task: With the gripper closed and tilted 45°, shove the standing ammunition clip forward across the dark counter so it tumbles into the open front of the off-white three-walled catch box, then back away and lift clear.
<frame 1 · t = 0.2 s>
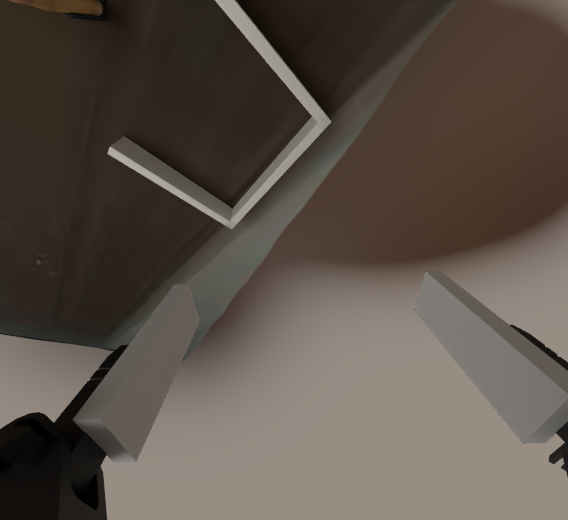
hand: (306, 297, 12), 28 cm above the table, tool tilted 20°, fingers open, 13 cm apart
catch box: (217, 125, 30), on the table
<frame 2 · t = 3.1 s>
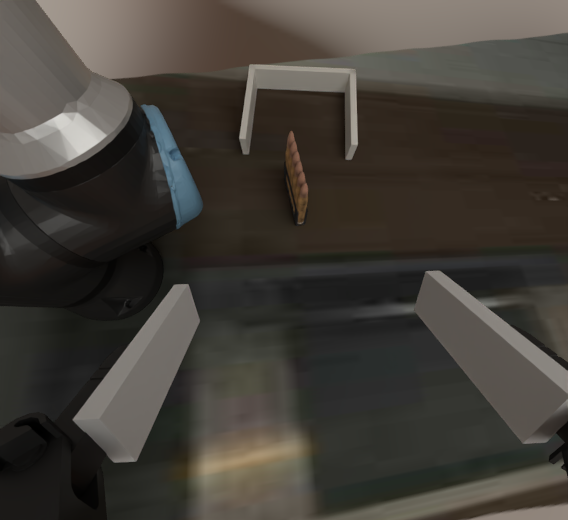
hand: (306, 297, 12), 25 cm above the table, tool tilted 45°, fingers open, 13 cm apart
catch box: (298, 122, 47), on the table
ammunition clip: (294, 200, 42), on the table
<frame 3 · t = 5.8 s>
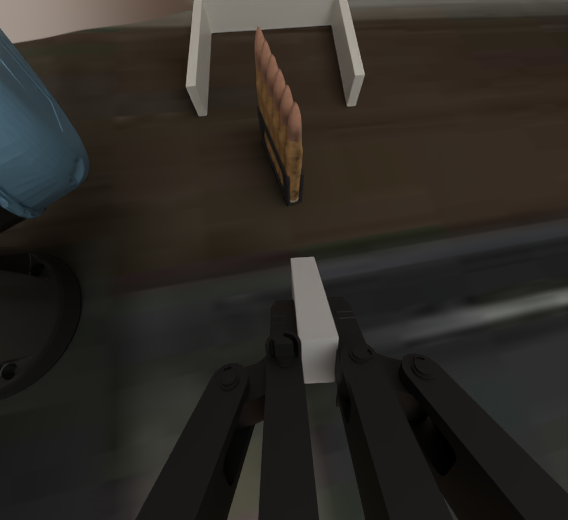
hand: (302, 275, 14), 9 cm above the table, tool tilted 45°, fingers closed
catch box: (273, 66, 33), on the table
ammunition clip: (280, 171, 28), on the table
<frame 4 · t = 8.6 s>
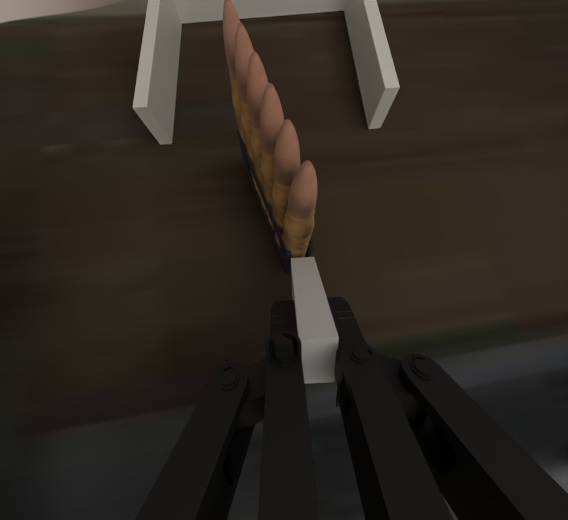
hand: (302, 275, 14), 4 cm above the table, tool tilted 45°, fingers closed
catch box: (265, 71, 24), on the table
ammunition clip: (275, 218, 20), on the table, touching gripper
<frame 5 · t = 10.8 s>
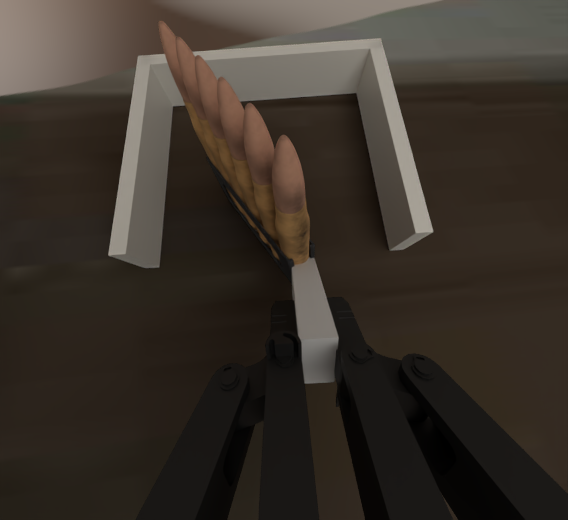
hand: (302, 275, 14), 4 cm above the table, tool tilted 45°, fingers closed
catch box: (269, 170, 21), on the table
ammunition clip: (267, 234, 19), on the table, touching gripper
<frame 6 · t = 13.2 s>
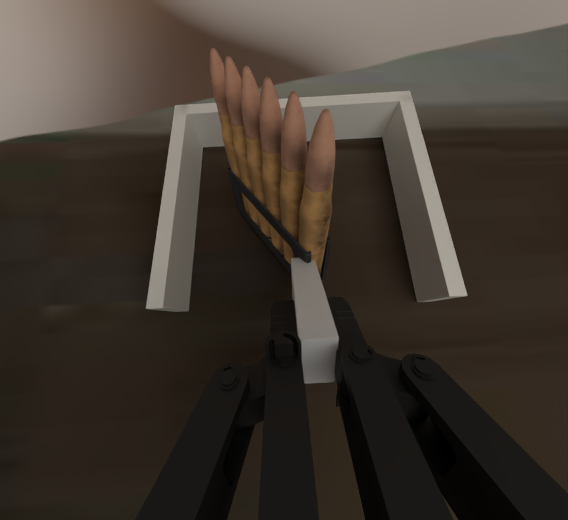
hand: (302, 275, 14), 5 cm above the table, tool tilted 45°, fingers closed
catch box: (296, 214, 21), on the table
ammunition clip: (277, 244, 19), point 1 cm above the table, touching gripper
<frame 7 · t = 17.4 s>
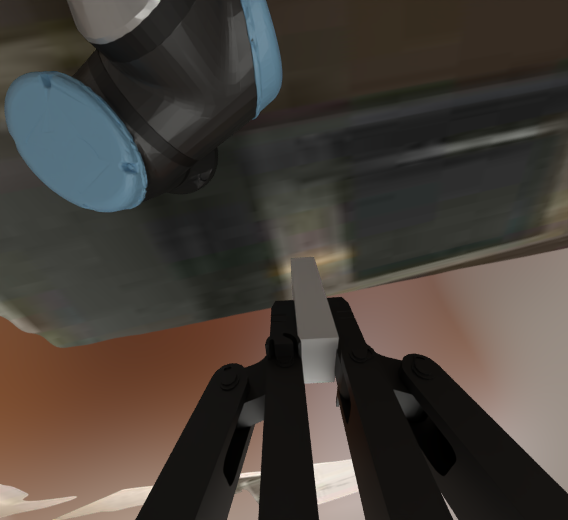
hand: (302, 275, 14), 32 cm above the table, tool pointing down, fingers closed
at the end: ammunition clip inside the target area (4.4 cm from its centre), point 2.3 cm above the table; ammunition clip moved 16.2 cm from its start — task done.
